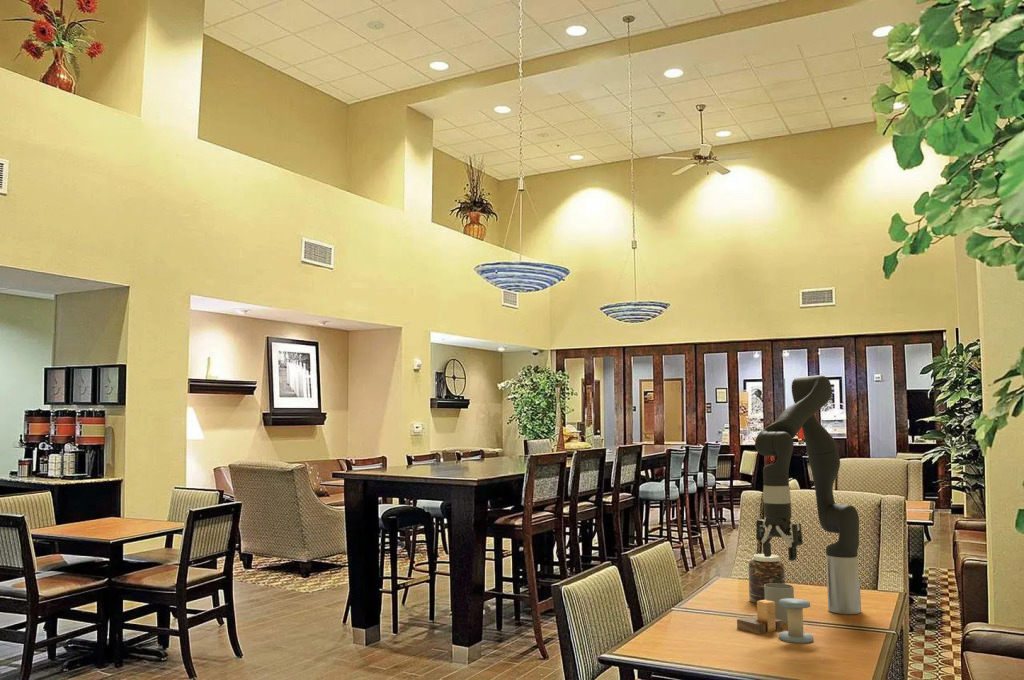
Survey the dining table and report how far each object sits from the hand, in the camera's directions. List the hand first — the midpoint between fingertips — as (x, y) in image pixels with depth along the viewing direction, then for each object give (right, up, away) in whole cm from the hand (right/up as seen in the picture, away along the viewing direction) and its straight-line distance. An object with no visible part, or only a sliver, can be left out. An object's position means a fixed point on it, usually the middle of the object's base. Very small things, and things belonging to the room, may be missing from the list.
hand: (779, 558), depth 234 cm
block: (-4, -20, -1) cm, 21 cm away
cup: (+4, -22, +11) cm, 25 cm away
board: (-6, -20, 0) cm, 21 cm away
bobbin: (+1, -19, -11) cm, 22 cm away
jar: (+8, -25, +37) cm, 45 cm away
